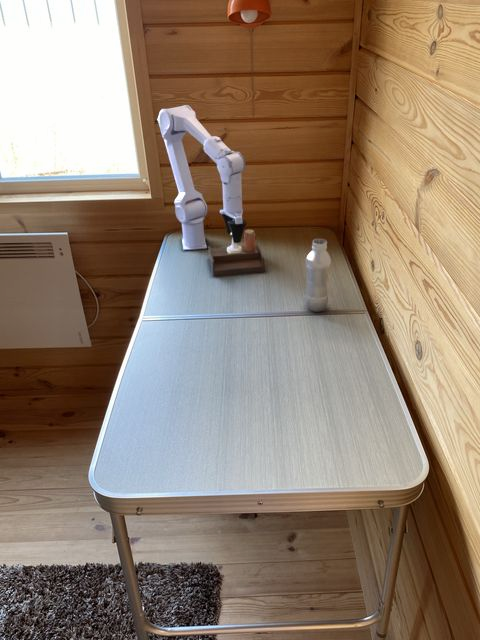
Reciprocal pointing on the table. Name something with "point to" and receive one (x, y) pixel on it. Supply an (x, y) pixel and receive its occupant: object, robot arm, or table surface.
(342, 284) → the table surface
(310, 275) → the plastic bottle
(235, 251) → the chess piece
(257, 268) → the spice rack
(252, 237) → the spice pot
